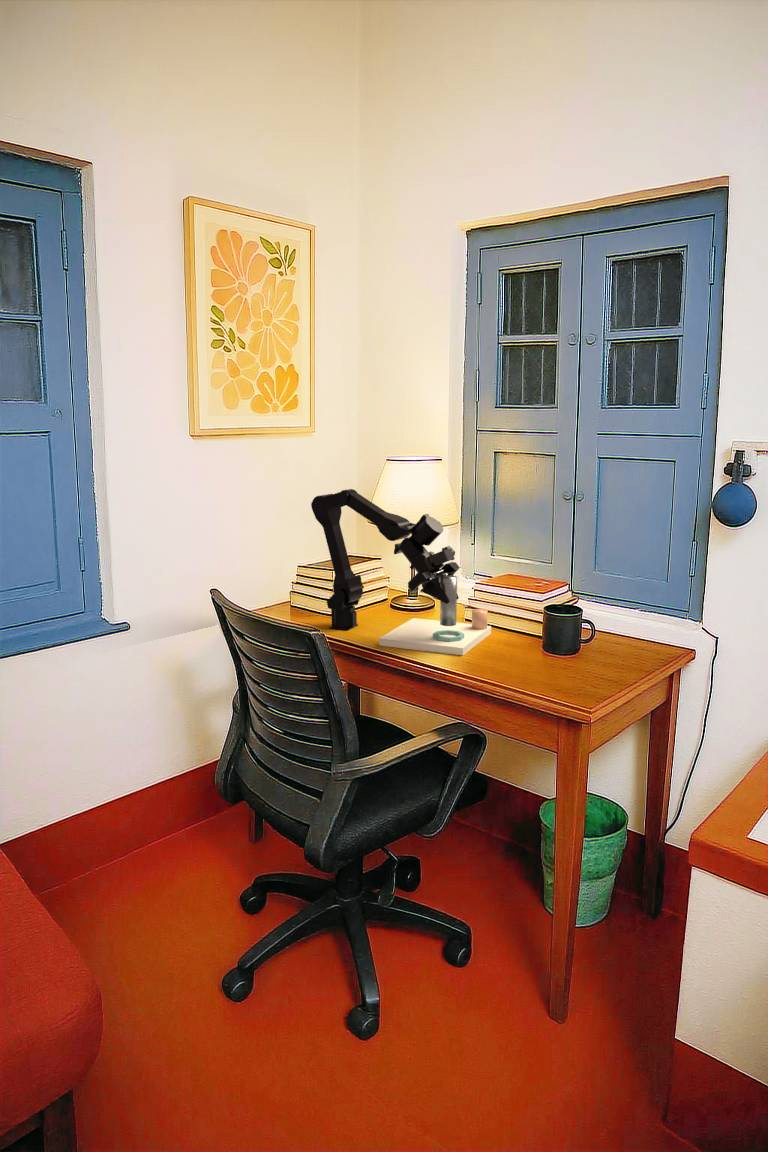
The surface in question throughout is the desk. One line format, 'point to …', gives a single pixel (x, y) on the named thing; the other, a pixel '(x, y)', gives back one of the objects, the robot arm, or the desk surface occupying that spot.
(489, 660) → the desk surface
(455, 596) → the shiny metal cylinder
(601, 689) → the desk surface
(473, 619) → the peach rounded cylinder
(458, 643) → the board
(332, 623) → the robot arm
